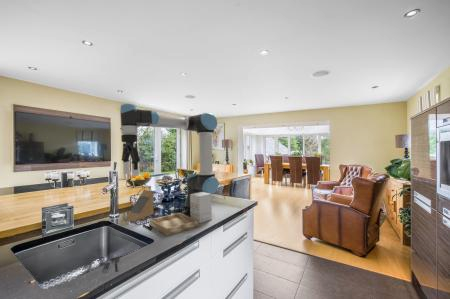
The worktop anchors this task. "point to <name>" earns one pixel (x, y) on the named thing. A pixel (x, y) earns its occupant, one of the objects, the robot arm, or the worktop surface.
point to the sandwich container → (142, 207)
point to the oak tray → (173, 223)
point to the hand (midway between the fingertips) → (130, 175)
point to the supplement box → (201, 206)
